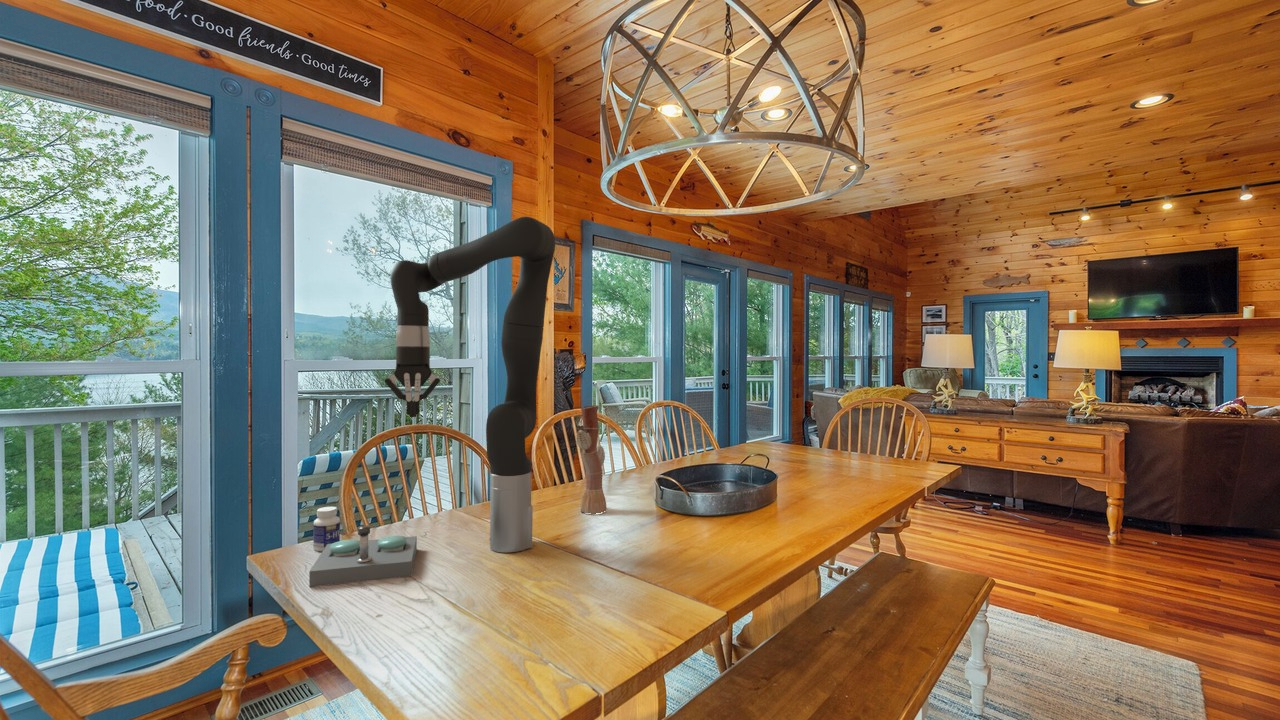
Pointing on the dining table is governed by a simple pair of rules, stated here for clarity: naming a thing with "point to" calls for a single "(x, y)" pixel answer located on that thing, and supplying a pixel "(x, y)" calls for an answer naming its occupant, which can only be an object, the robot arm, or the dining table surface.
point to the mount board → (363, 565)
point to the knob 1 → (345, 547)
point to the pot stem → (364, 544)
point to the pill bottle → (326, 528)
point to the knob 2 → (392, 543)
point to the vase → (591, 461)
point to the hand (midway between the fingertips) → (412, 416)
